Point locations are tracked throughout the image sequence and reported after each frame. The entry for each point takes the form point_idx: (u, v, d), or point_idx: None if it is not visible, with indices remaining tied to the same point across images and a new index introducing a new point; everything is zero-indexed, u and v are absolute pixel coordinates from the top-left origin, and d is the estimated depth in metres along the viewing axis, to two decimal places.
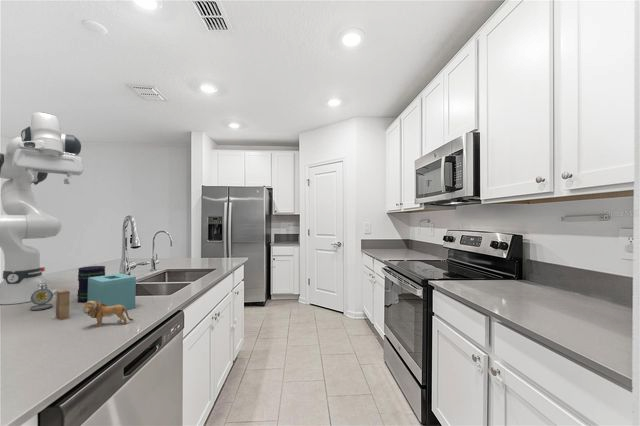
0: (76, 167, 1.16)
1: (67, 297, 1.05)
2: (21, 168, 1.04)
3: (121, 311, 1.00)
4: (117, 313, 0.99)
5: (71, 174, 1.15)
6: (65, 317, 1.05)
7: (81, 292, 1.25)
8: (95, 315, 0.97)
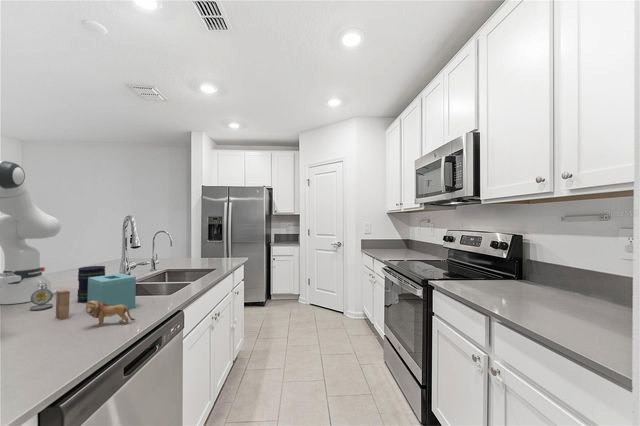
0: None
1: (67, 297, 1.05)
2: None
3: (123, 311, 1.00)
4: (119, 313, 0.99)
5: (4, 283, 0.90)
6: (65, 317, 1.05)
7: (81, 292, 1.25)
8: (97, 315, 0.97)
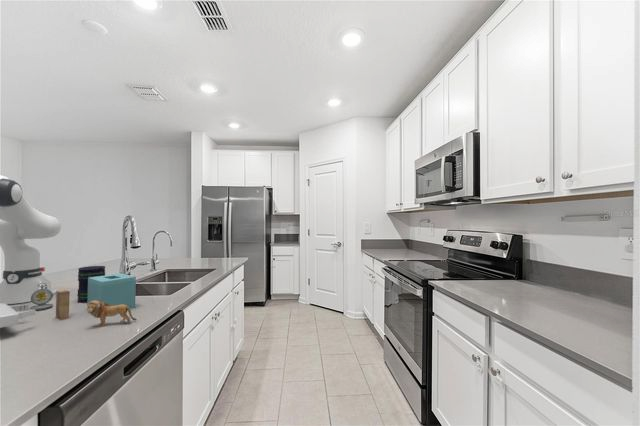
0: None
1: (67, 297, 1.05)
2: None
3: (125, 311, 1.00)
4: (121, 313, 1.00)
5: (20, 318, 0.93)
6: (65, 317, 1.05)
7: (81, 292, 1.25)
8: (99, 315, 0.98)
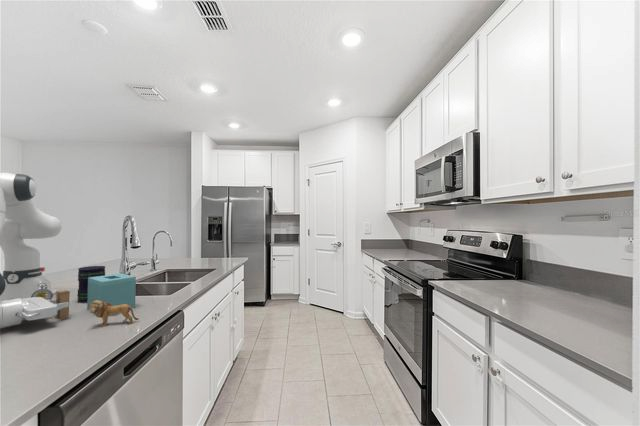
0: None
1: (67, 297, 1.05)
2: None
3: (127, 310, 1.00)
4: (123, 312, 1.00)
5: None
6: (65, 317, 1.05)
7: (81, 292, 1.25)
8: (101, 315, 0.98)
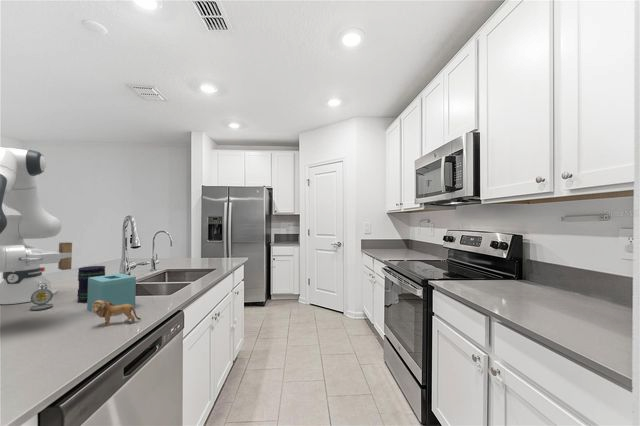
0: None
1: (69, 248, 1.06)
2: None
3: (129, 310, 1.01)
4: (125, 312, 1.00)
5: None
6: (67, 268, 1.06)
7: (81, 292, 1.25)
8: (103, 314, 0.98)
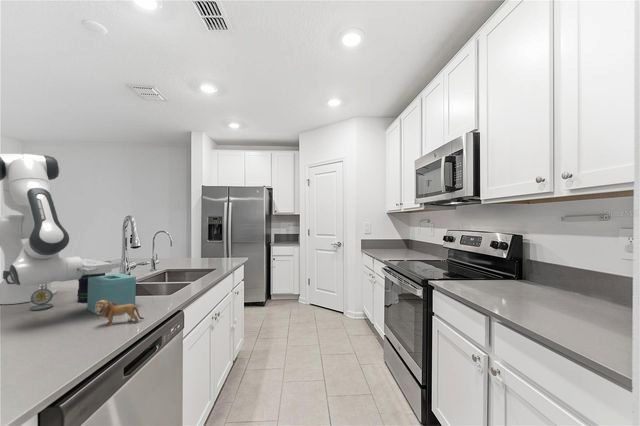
0: None
1: None
2: None
3: (132, 310, 1.01)
4: (128, 312, 1.00)
5: None
6: None
7: (81, 292, 1.25)
8: (106, 314, 0.98)
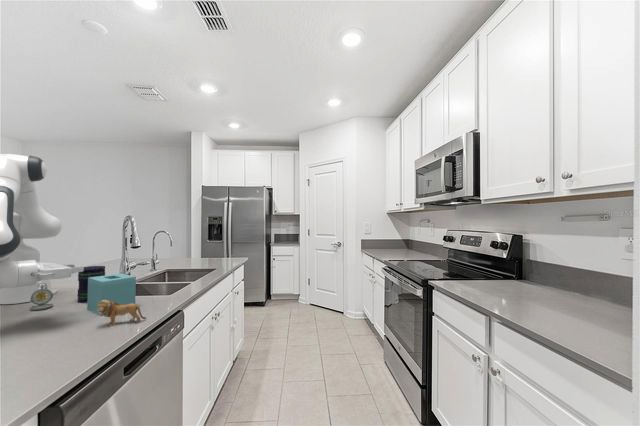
0: None
1: None
2: None
3: (135, 310, 1.01)
4: (131, 312, 1.01)
5: (71, 273, 1.02)
6: None
7: (81, 292, 1.25)
8: (109, 314, 0.98)
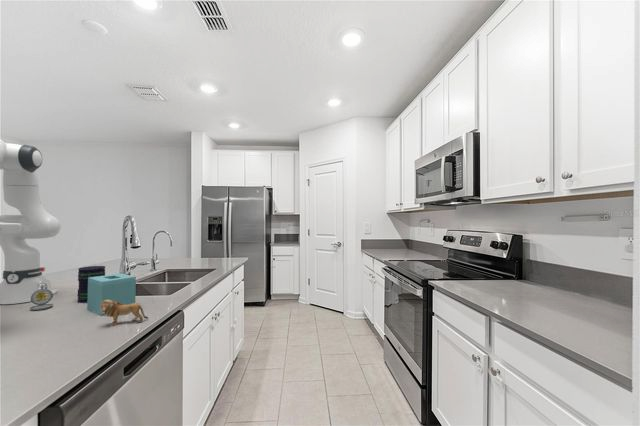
0: None
1: None
2: None
3: (137, 309, 1.02)
4: (133, 311, 1.01)
5: (22, 231, 0.96)
6: None
7: (81, 292, 1.25)
8: (112, 314, 0.99)
